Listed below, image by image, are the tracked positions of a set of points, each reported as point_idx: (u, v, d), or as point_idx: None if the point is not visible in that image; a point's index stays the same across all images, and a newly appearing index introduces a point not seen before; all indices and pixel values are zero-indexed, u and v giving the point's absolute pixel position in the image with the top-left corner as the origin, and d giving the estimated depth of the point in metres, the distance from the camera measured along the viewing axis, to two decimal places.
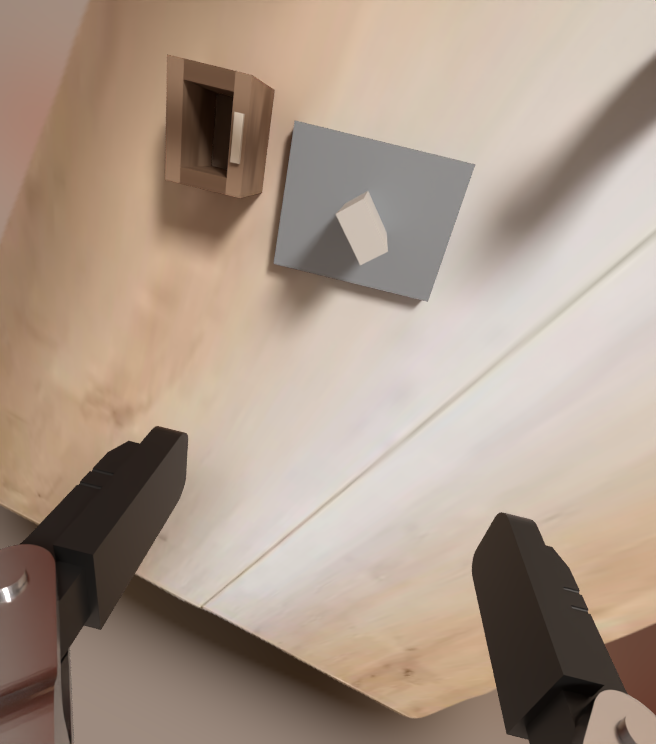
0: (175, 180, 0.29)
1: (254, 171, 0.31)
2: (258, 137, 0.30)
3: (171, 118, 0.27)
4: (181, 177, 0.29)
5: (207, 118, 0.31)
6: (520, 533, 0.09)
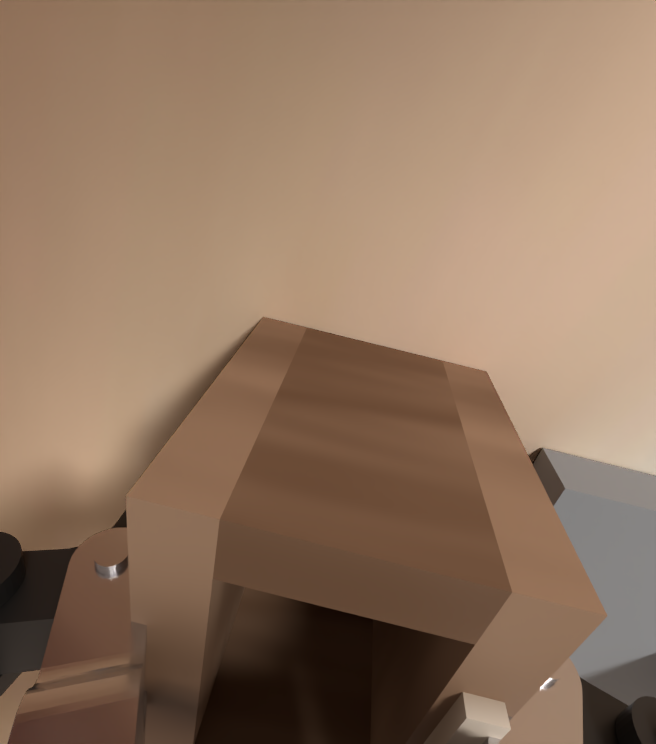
0: None
1: None
2: None
3: (155, 661, 0.06)
4: None
5: None
6: None
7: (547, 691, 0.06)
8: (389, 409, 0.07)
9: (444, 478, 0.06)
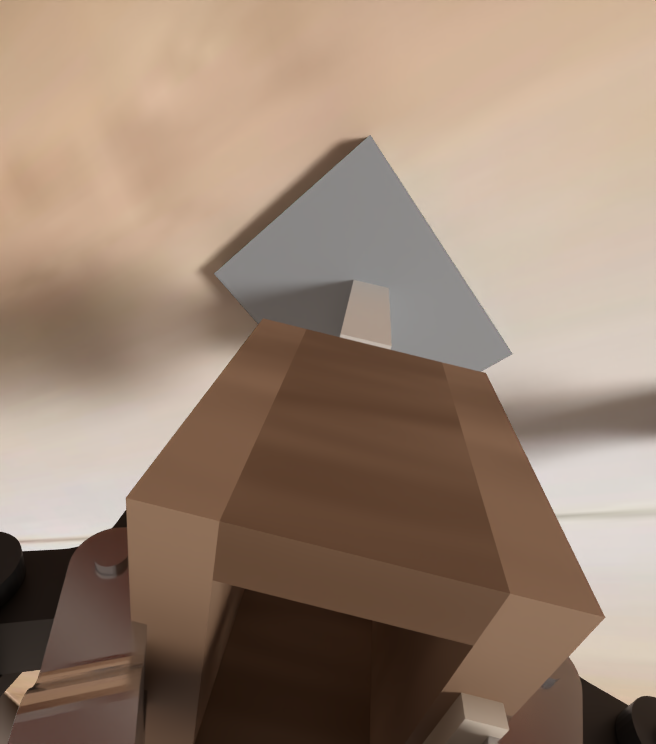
0: None
1: None
2: None
3: (155, 662, 0.06)
4: None
5: None
6: None
7: (547, 691, 0.06)
8: (388, 411, 0.07)
9: (443, 480, 0.06)
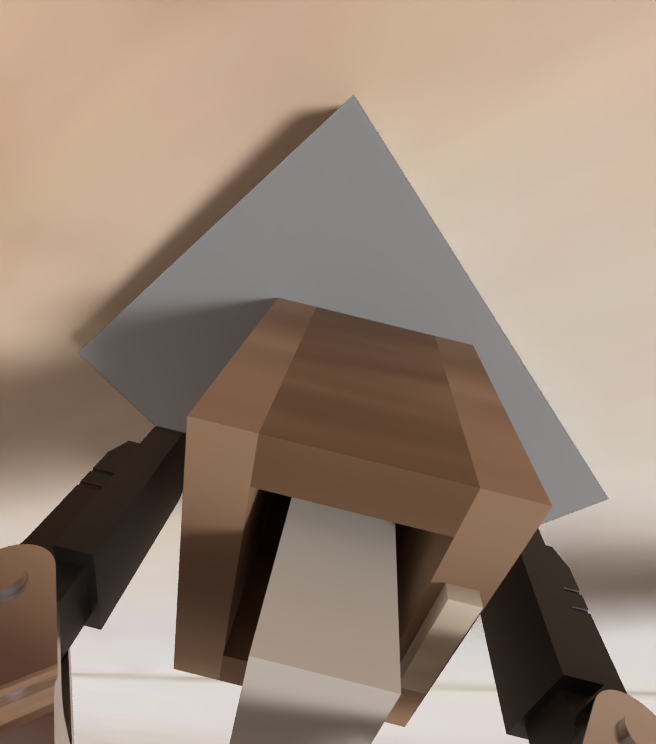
0: (205, 674, 0.09)
1: None
2: None
3: (198, 567, 0.08)
4: (225, 672, 0.09)
5: None
6: None
7: None
8: (388, 369, 0.09)
9: (432, 417, 0.07)
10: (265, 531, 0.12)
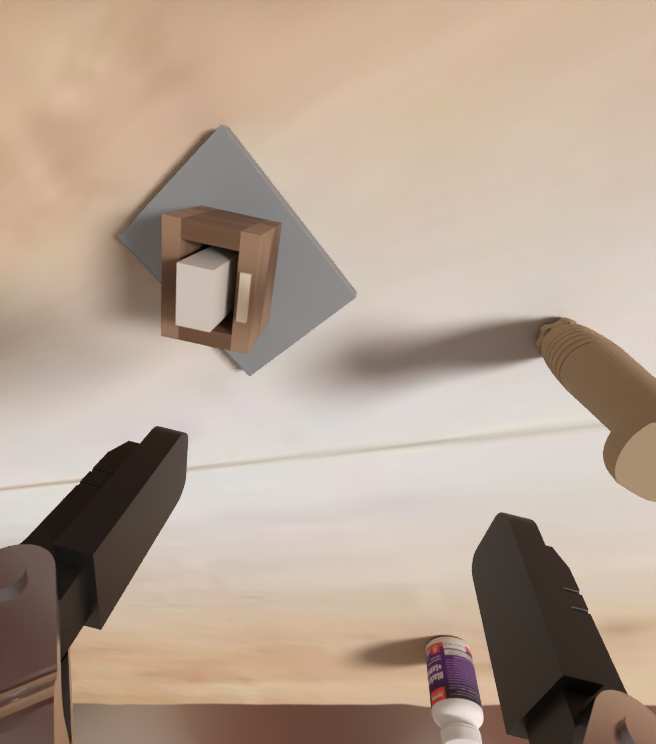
0: (173, 336, 0.26)
1: (262, 314, 0.28)
2: (266, 281, 0.27)
3: (167, 276, 0.24)
4: (180, 333, 0.26)
5: None
6: (520, 533, 0.09)
7: None
8: (234, 219, 0.25)
9: (240, 225, 0.24)
10: None
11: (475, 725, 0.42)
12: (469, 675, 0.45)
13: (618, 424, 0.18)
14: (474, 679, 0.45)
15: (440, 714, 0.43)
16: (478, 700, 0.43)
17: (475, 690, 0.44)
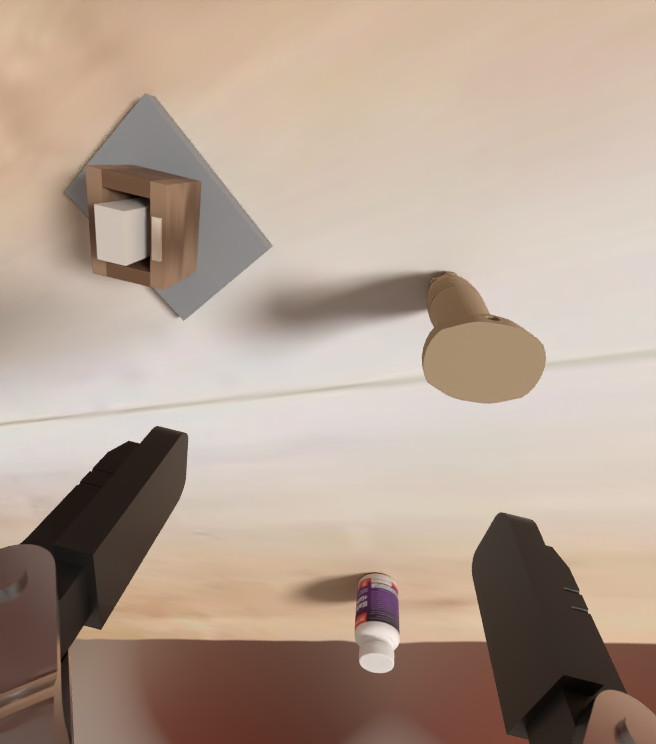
0: (102, 273, 0.31)
1: (183, 259, 0.32)
2: (183, 229, 0.31)
3: (94, 220, 0.29)
4: (107, 271, 0.30)
5: None
6: (520, 533, 0.09)
7: None
8: (154, 174, 0.30)
9: (154, 178, 0.29)
10: None
11: (390, 644, 0.47)
12: (390, 604, 0.50)
13: (428, 335, 0.23)
14: (395, 608, 0.50)
15: (360, 635, 0.48)
16: (395, 624, 0.48)
17: (394, 616, 0.49)
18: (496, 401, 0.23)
